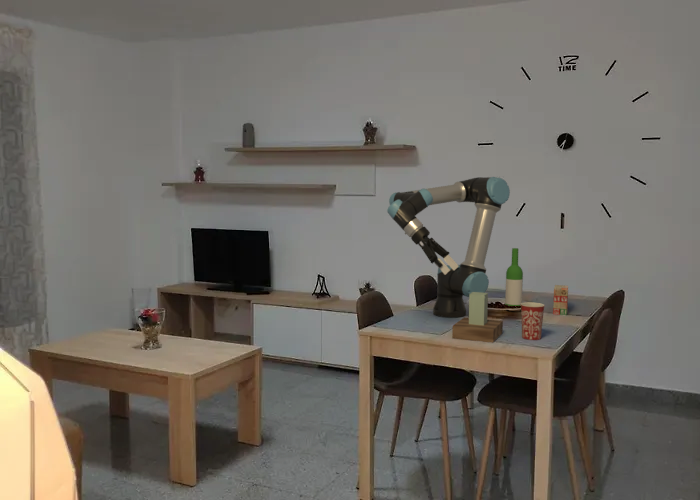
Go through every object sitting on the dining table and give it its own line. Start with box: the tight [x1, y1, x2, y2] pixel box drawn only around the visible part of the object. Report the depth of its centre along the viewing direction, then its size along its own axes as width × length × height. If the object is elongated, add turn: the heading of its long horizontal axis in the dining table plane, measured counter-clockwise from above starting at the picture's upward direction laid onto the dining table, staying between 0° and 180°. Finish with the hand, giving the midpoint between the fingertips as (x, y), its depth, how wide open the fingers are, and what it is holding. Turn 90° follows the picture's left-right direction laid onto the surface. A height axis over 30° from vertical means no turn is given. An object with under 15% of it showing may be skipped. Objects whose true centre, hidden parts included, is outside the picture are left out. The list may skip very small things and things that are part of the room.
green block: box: [468, 292, 489, 325], centre depth 261 cm, size 6×6×12 cm
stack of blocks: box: [552, 284, 569, 316], centre depth 315 cm, size 21×6×12 cm, turn 161°
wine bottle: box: [504, 247, 524, 306], centre depth 312 cm, size 8×8×30 cm
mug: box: [520, 301, 545, 341], centre depth 259 cm, size 13×9×14 cm
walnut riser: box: [451, 316, 504, 344], centre depth 262 cm, size 18×16×5 cm
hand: (452, 270), depth 264 cm, fingers open, 13 cm apart
